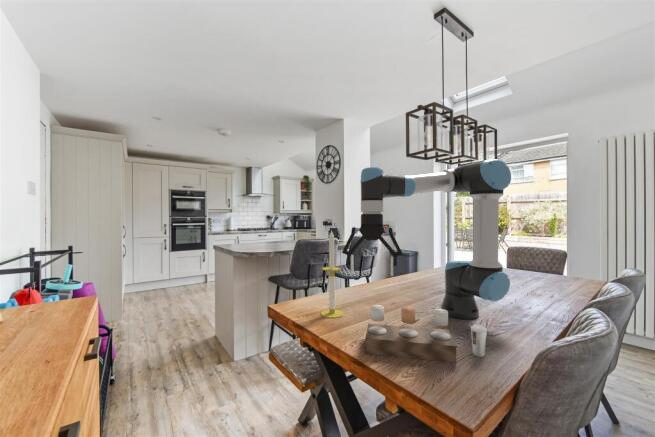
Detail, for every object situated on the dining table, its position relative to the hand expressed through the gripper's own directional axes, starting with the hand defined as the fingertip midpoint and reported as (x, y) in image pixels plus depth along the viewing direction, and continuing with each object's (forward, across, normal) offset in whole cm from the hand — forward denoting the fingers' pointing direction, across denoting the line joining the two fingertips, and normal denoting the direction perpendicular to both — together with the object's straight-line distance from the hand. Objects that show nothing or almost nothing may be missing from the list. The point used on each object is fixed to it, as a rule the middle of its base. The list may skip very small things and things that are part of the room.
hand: (371, 274), depth 99 cm
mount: (+23, -12, +3) cm, 26 cm away
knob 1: (+14, -2, +3) cm, 15 cm away
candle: (+24, +18, -25) cm, 38 cm away
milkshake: (+23, -33, +4) cm, 41 cm away
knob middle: (+14, -12, +3) cm, 19 cm away
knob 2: (+14, -22, +4) cm, 26 cm away
